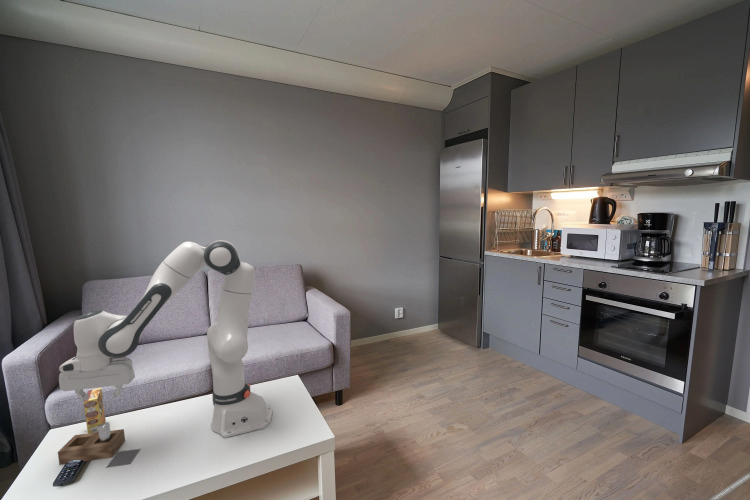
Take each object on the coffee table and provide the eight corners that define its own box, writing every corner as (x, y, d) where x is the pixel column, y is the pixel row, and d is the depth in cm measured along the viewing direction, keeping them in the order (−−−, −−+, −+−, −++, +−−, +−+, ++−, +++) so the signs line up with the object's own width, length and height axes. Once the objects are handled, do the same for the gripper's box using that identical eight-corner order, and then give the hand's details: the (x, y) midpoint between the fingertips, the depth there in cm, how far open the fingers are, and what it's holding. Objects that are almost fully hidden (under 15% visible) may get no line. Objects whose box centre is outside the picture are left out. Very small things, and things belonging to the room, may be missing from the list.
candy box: (103, 436, 119) (98, 398, 117) (87, 441, 116) (83, 401, 114) (106, 423, 126) (102, 386, 124) (92, 427, 124) (87, 390, 122)
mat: (141, 449, 112) (140, 448, 112) (130, 465, 105) (130, 464, 105) (118, 452, 111) (118, 451, 111) (105, 468, 104) (105, 467, 104)
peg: (114, 448, 113) (111, 421, 112) (109, 454, 110) (106, 427, 109) (104, 449, 112) (101, 422, 111) (99, 455, 110) (95, 428, 108)
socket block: (125, 441, 116) (123, 429, 115) (112, 458, 108) (110, 444, 108) (76, 448, 113) (74, 435, 112) (59, 465, 105) (57, 451, 104)
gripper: (135, 352, 112) (140, 389, 114) (67, 358, 108) (72, 396, 110) (126, 360, 106) (131, 399, 108) (52, 367, 102) (59, 408, 104)
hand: (101, 398), depth 109 cm, fingers open, 8 cm apart
